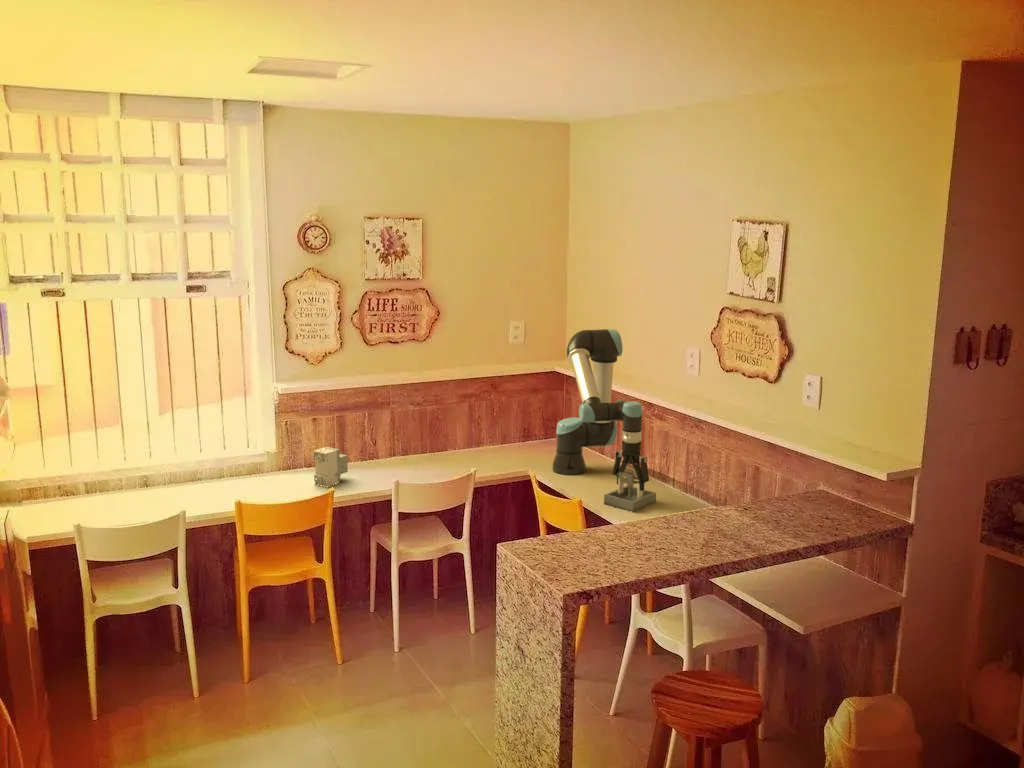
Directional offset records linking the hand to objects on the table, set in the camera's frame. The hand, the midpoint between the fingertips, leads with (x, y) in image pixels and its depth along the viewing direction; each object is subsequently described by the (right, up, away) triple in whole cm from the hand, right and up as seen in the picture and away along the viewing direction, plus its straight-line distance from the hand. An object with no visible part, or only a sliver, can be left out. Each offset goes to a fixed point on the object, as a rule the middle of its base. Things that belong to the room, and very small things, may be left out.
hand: (630, 495), depth 357 cm
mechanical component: (0, -1, 0) cm, 1 cm away
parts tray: (0, -3, +1) cm, 3 cm away
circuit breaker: (-125, +2, +28) cm, 128 cm away
